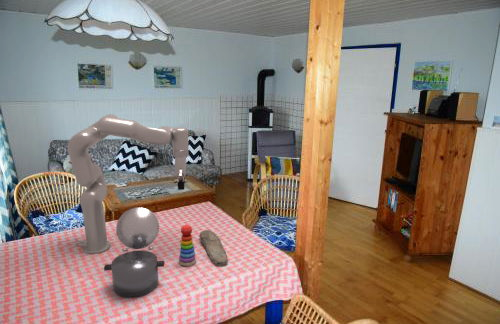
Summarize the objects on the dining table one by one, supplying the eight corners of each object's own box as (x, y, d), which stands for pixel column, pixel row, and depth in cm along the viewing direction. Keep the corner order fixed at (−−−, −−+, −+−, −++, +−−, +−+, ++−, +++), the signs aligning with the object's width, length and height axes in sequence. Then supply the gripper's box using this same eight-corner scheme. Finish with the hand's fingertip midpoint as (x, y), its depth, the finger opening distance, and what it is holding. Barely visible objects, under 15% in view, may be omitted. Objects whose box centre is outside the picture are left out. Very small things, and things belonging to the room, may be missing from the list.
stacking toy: (199, 262, 165) (198, 226, 161) (185, 269, 160) (183, 231, 155) (189, 256, 171) (188, 220, 166) (175, 262, 165) (174, 225, 161)
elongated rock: (211, 271, 161) (232, 268, 165) (212, 261, 160) (233, 258, 163) (195, 234, 192) (213, 233, 196) (196, 226, 191) (214, 224, 194)
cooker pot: (101, 300, 137) (98, 273, 134) (112, 273, 156) (110, 248, 153) (163, 295, 141) (162, 269, 138) (166, 269, 160) (165, 245, 157)
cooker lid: (116, 208, 154) (117, 208, 158) (116, 250, 152) (118, 249, 156) (158, 206, 157) (159, 206, 160) (159, 247, 155) (159, 246, 159)
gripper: (173, 149, 179) (174, 181, 183) (171, 157, 162) (172, 192, 167) (188, 148, 180) (189, 180, 184) (188, 157, 164) (188, 191, 168)
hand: (181, 186), depth 175 cm, fingers open, 9 cm apart
